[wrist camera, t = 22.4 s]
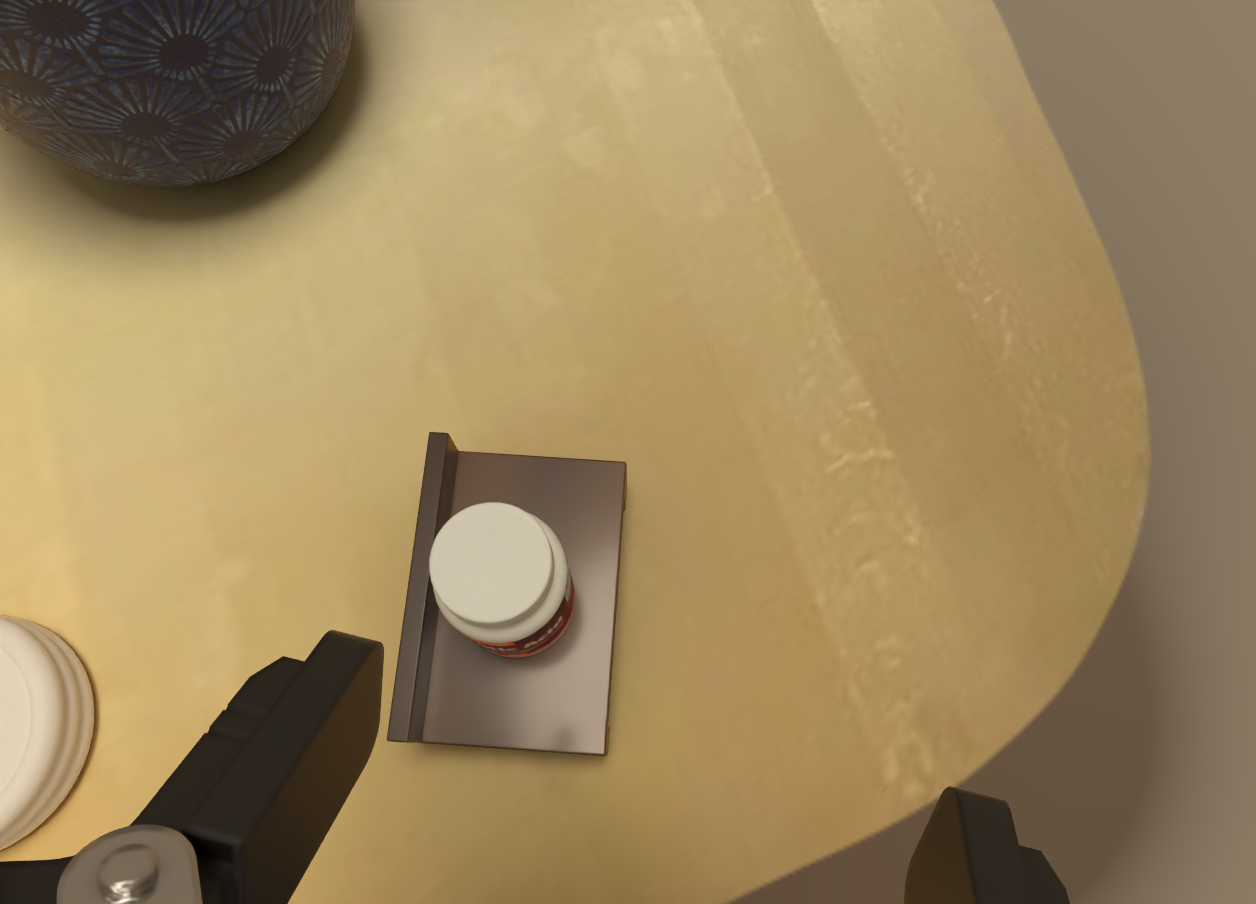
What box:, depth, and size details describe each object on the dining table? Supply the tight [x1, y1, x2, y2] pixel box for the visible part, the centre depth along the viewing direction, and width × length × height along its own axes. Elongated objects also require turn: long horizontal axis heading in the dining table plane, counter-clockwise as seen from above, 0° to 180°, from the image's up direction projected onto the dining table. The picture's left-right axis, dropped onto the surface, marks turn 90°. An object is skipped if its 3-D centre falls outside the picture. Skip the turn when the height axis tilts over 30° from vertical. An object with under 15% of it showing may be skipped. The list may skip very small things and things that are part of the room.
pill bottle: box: [429, 502, 575, 658], centre depth 35 cm, size 5×5×8 cm
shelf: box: [387, 432, 627, 756], centre depth 39 cm, size 8×12×6 cm, turn 176°
